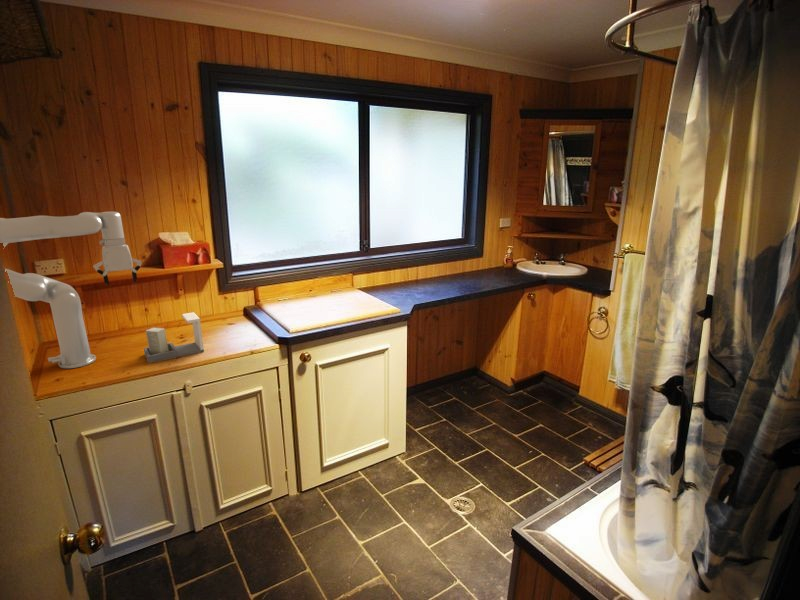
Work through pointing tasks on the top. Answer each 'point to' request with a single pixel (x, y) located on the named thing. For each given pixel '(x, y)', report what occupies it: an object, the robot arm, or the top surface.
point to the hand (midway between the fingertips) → (121, 283)
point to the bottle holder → (182, 349)
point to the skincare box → (157, 340)
